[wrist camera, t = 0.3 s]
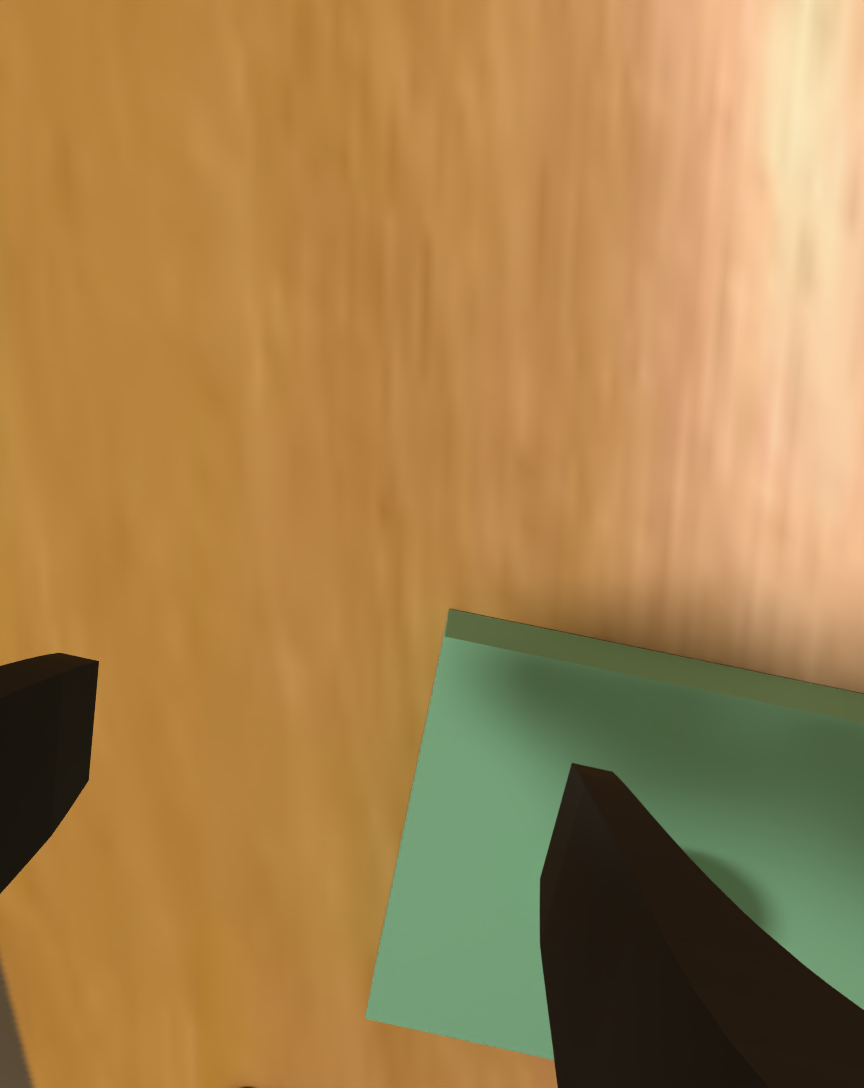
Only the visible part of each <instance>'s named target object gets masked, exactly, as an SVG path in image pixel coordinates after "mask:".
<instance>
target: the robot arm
mask: <svg viewBox="0 0 864 1088" xmlns="http://www.w3.org/2000/svg"><path fill="white" fill-rule="evenodd" d="M98 666H99V661H96V660H91V659H86V658H82V657H77V656H72V655H68V654H63V653H55V654H49V655H43V656H38V657H34V658H30V659H25V660H22V661H18V662H14V663H10V664H6V665H2V666H0V893H1V892H2V891H3V890H4V889H5V888H6V887H7V886H8V884H9V883H10V882H11V881H12V880H13V879H14V878H15V877H16V875H17V874H18V873H19V872H20V871H21V870H22V869H23V868H24V866H25V865H26V864H27V863H28V862H29V861H30V860H31V858H32V857H33V856H34V855H35V854H36V853H37V852H38V851H39V849H40V848H41V847H42V846H43V845H44V844H45V842H46V841H47V840H48V839H49V838H50V837H51V835H52V834H53V832H54V831H55V830H56V828H57V827H58V825H59V824H60V822H61V821H62V820H63V818H64V817H65V815H66V814H67V813H68V811H69V810H70V808H71V806H72V805H73V803H74V802H75V800H76V799H77V797H78V796H79V794H80V793H81V791H82V790H83V788H84V787H85V785H86V783H87V782H88V780H89V769H90V758H91V746H92V735H93V723H94V712H95V701H96V689H97V678H98ZM540 949H541V958H542V967H543V975H544V983H545V991H546V999H547V1007H548V1015H549V1022H550V1030H551V1038H552V1046H553V1053H554V1061H555V1069H556V1077H557V1084H558V1088H864V1010H863V1009H862V1008H860V1007H859V1006H858V1005H856V1004H855V1003H854V1002H852V1001H851V1000H849V999H848V998H847V997H845V996H844V995H843V994H841V993H840V992H839V991H837V990H836V989H834V988H833V987H832V986H830V985H829V984H828V983H827V982H825V981H824V980H823V979H821V978H820V977H819V976H818V975H816V974H815V973H814V972H813V971H811V970H810V969H809V968H807V967H806V966H805V965H804V964H803V963H801V962H800V961H799V960H798V959H797V958H795V957H794V956H793V955H792V954H791V953H790V952H788V951H787V950H786V949H785V948H784V947H783V946H781V945H780V944H779V943H778V942H777V941H776V940H774V939H773V938H772V937H771V936H770V935H769V934H767V933H766V932H765V931H764V930H763V929H761V928H760V927H759V926H758V925H757V924H756V923H755V922H754V921H753V920H752V919H751V918H749V917H748V916H747V915H746V914H745V913H744V912H743V911H742V910H741V909H740V908H739V907H738V906H737V905H736V904H735V903H734V902H733V901H732V900H731V899H730V898H729V897H728V896H727V895H726V894H725V893H724V892H723V891H722V890H721V889H720V888H719V887H718V886H717V885H716V884H715V883H714V882H713V881H712V880H710V879H709V877H708V876H707V875H706V874H705V873H704V872H703V871H702V870H701V869H700V868H699V867H698V866H697V865H696V864H695V863H694V862H693V861H692V860H691V858H690V857H689V856H688V855H687V854H686V853H685V852H684V851H683V850H682V849H681V848H680V846H679V845H678V844H677V843H676V842H675V841H674V840H673V839H672V838H671V836H670V835H669V834H668V833H667V832H666V831H665V830H664V829H663V827H662V826H661V825H660V824H659V823H658V822H657V821H656V819H655V818H654V817H653V816H652V815H651V814H650V812H649V811H648V810H647V809H646V808H645V807H644V805H643V804H642V803H641V802H640V801H639V800H638V799H637V797H636V796H635V795H634V794H633V793H632V792H631V790H630V789H629V788H628V787H627V786H626V785H625V784H624V783H623V782H622V780H621V779H620V778H619V777H618V776H617V775H616V774H615V773H614V772H612V771H608V770H603V769H598V768H594V767H589V766H584V765H580V764H575V763H572V764H571V767H570V771H569V775H568V778H567V782H566V786H565V789H564V793H563V797H562V800H561V804H560V808H559V811H558V815H557V819H556V822H555V826H554V829H553V833H552V837H551V840H550V844H549V848H548V851H547V855H546V859H545V862H544V866H543V870H542V873H541V877H540Z"/></svg>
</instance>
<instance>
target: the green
mask: <svg viewBox="0 0 864 1088" xmlns="http://www.w3.org/2000/svg"><path fill="white" fill-rule="evenodd" d="M572 763H575V764H580V765H584V766H589V767H594V768H598V769H603V770H608V771H612V772H614V773H615V774H616V775H617V776H618V777H619V778H620V779H621V780H622V782H623V783H624V784H625V785H626V786H627V787H628V788H629V789H630V790H631V792H632V793H633V794H634V795H635V796H636V797H637V799H638V800H639V801H640V802H641V803H642V804H643V805H644V807H645V808H646V809H647V810H648V811H649V812H650V814H651V815H652V816H653V817H654V818H655V819H656V821H657V822H658V823H659V824H660V825H661V826H662V827H663V829H664V830H665V831H666V832H667V833H668V834H669V835H670V836H671V838H672V839H673V840H674V841H675V842H676V843H677V844H678V845H679V846H680V848H681V849H682V850H683V851H684V852H685V853H686V854H687V855H688V856H689V857H690V858H691V860H692V861H693V862H694V863H695V864H696V865H697V866H698V867H699V868H700V869H701V870H702V871H703V872H704V873H705V874H706V875H707V876H708V877H709V879H710V880H712V881H713V882H714V883H715V884H716V885H717V886H718V887H719V888H720V889H721V890H722V891H723V892H724V893H725V894H726V895H727V896H728V897H729V898H730V899H731V900H732V901H733V902H734V903H735V904H736V905H737V906H738V907H739V908H740V909H741V910H742V911H743V912H744V913H745V914H746V915H747V916H748V917H749V918H751V919H752V920H753V921H754V922H755V923H756V924H757V925H758V926H759V927H760V928H761V929H763V930H764V931H765V932H766V933H767V934H769V935H770V936H771V937H772V938H773V939H774V940H776V941H777V942H778V943H779V944H780V945H781V946H783V947H784V948H785V949H786V950H787V951H788V952H790V953H791V954H792V955H793V956H794V957H795V958H797V959H798V960H799V961H800V962H801V963H803V964H804V965H805V966H806V967H807V968H809V969H810V970H811V971H813V972H814V973H815V974H816V975H818V976H819V977H820V978H821V979H823V980H824V981H825V982H827V983H828V984H829V985H830V986H832V987H833V988H834V989H836V990H837V991H839V992H840V993H841V994H843V995H844V996H845V997H847V998H848V999H849V1000H851V1001H852V1002H854V1003H855V1004H856V1005H858V1006H859V1007H860V1008H862V1009H863V1010H864V694H862V693H857V692H852V691H847V690H842V689H837V688H833V687H828V686H823V685H818V684H813V683H808V682H803V681H798V680H794V679H789V678H784V677H779V676H774V675H769V674H764V673H760V672H755V671H750V670H745V669H740V668H735V667H730V666H725V665H721V664H716V663H711V662H706V661H701V660H696V659H691V658H686V657H682V656H677V655H672V654H667V653H662V652H657V651H652V650H648V649H643V648H638V647H633V646H628V645H623V644H618V643H613V642H609V641H604V640H599V639H594V638H589V637H584V636H579V635H574V634H570V633H565V632H560V631H555V630H550V629H545V628H540V627H535V626H531V625H526V624H521V623H516V622H511V621H506V620H501V619H497V618H492V617H487V616H482V615H477V614H472V613H467V612H462V611H458V610H453V609H449V612H448V617H447V622H446V627H445V631H444V636H443V641H442V646H441V651H440V655H439V660H438V665H437V670H436V675H435V680H434V684H433V689H432V694H431V699H430V704H429V708H428V713H427V718H426V723H425V728H424V732H423V737H422V742H421V747H420V752H419V757H418V761H417V766H416V771H415V776H414V781H413V785H412V790H411V795H410V800H409V805H408V809H407V814H406V819H405V824H404V829H403V834H402V838H401V843H400V848H399V853H398V858H397V862H396V867H395V872H394V877H393V882H392V886H391V891H390V896H389V901H388V906H387V911H386V915H385V920H384V925H383V930H382V935H381V939H380V944H379V949H378V954H377V959H376V963H375V969H374V974H373V979H372V985H371V990H370V995H369V1001H368V1006H367V1011H366V1017H365V1019H369V1020H374V1021H379V1022H383V1023H388V1024H392V1025H397V1026H401V1027H406V1028H411V1029H415V1030H420V1031H424V1032H429V1033H433V1034H438V1035H443V1036H447V1037H452V1038H456V1039H461V1040H465V1041H470V1042H475V1043H479V1044H484V1045H488V1046H493V1047H497V1048H502V1049H506V1050H511V1051H516V1052H520V1053H525V1054H529V1055H534V1056H538V1057H543V1058H548V1059H552V1060H554V1053H553V1046H552V1038H551V1030H550V1022H549V1015H548V1007H547V999H546V991H545V983H544V975H543V967H542V958H541V949H540V877H541V873H542V870H543V866H544V862H545V859H546V855H547V851H548V848H549V844H550V840H551V837H552V833H553V829H554V826H555V822H556V819H557V815H558V811H559V808H560V804H561V800H562V797H563V793H564V789H565V786H566V782H567V778H568V775H569V771H570V767H571V764H572Z"/></svg>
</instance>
